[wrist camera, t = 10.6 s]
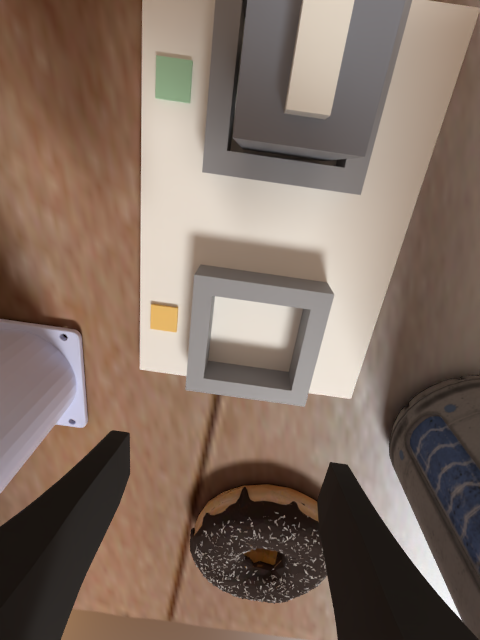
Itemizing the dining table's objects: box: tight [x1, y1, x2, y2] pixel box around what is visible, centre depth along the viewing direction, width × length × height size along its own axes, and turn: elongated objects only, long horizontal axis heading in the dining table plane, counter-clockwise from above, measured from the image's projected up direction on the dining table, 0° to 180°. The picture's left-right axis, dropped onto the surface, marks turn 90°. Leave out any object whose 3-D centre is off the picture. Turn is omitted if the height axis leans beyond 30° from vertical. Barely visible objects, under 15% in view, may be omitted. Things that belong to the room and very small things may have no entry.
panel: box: [140, 0, 480, 407], centre depth 17 cm, size 14×20×3 cm
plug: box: [233, 0, 405, 161], centre depth 12 cm, size 4×4×8 cm
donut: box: [190, 484, 327, 604], centre depth 27 cm, size 11×12×4 cm
